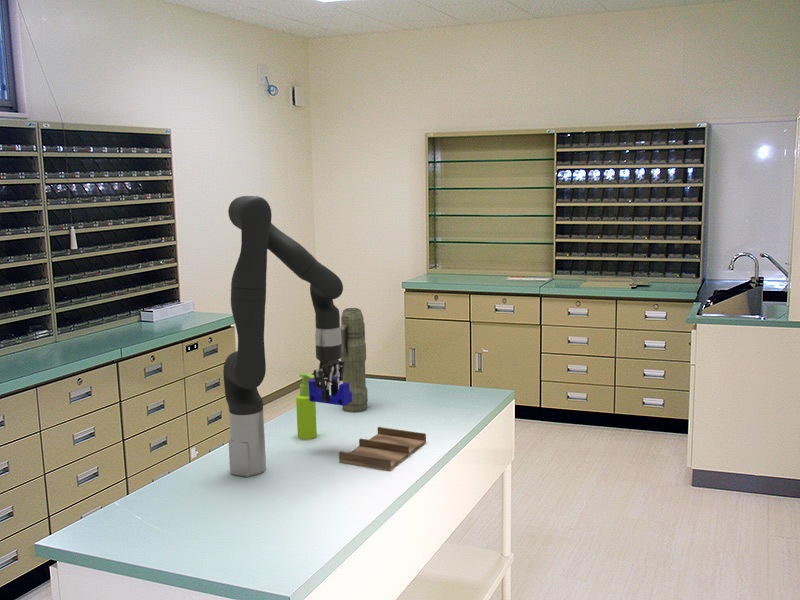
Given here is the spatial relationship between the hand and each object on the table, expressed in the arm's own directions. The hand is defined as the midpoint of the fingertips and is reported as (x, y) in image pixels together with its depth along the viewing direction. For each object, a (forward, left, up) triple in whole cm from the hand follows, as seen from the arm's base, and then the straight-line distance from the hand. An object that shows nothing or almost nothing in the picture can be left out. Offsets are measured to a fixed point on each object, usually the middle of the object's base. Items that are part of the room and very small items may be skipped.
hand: (330, 399), depth 229 cm
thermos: (+38, +14, -16) cm, 43 cm away
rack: (+4, -15, -15) cm, 22 cm away
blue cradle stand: (0, 0, -1) cm, 1 cm away
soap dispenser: (+7, +13, -16) cm, 21 cm away
